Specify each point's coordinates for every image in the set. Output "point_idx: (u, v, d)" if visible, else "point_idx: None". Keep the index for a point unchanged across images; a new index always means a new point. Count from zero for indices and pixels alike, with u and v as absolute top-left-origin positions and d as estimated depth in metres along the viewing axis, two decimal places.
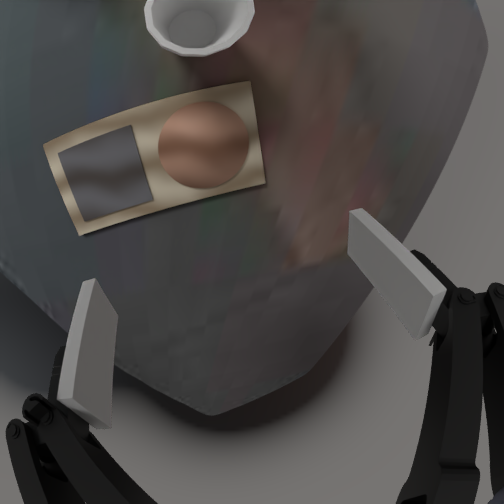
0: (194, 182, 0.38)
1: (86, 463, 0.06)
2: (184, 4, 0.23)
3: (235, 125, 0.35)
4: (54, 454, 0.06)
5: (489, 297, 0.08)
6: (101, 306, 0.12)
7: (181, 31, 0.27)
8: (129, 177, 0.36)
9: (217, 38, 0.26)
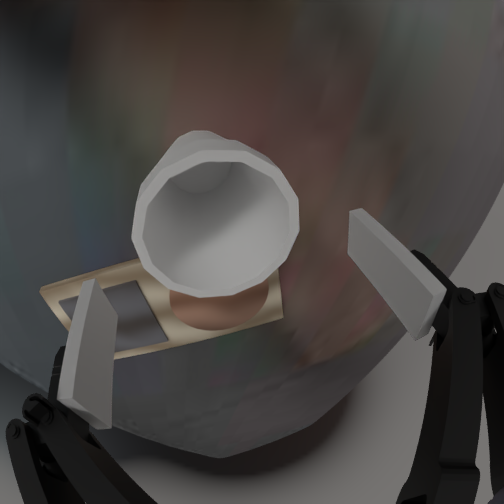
0: (210, 326, 0.37)
1: (86, 463, 0.06)
2: None
3: None
4: (54, 454, 0.06)
5: (489, 297, 0.08)
6: (101, 306, 0.12)
7: None
8: (142, 325, 0.34)
9: (235, 197, 0.24)
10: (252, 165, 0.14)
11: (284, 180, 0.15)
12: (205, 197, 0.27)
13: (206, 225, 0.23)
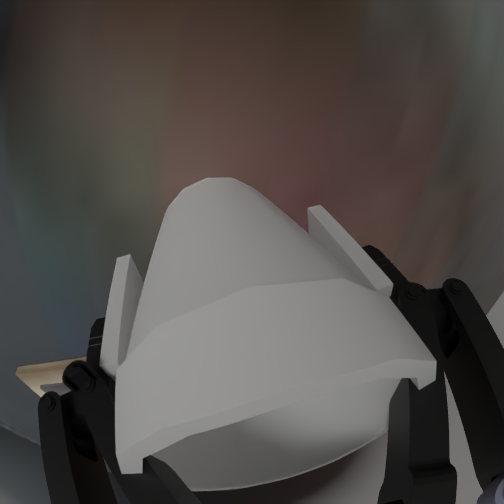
0: None
1: None
2: None
3: None
4: (89, 424, 0.07)
5: (445, 295, 0.09)
6: (136, 281, 0.14)
7: None
8: None
9: None
10: (395, 375, 0.05)
11: (432, 372, 0.06)
12: None
13: None
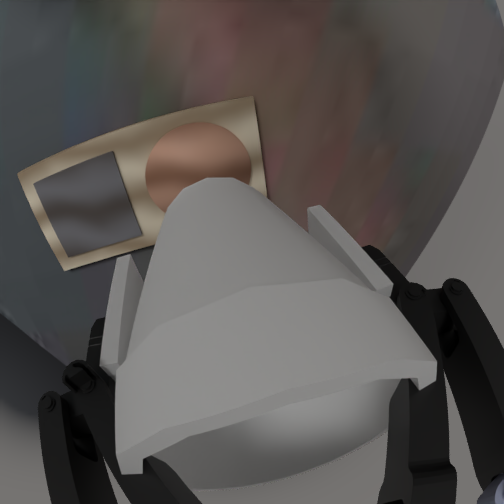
0: None
1: None
2: None
3: (235, 150, 0.31)
4: (89, 424, 0.07)
5: (445, 295, 0.09)
6: (136, 281, 0.14)
7: None
8: (114, 211, 0.31)
9: None
10: (396, 376, 0.05)
11: (433, 372, 0.06)
12: None
13: None
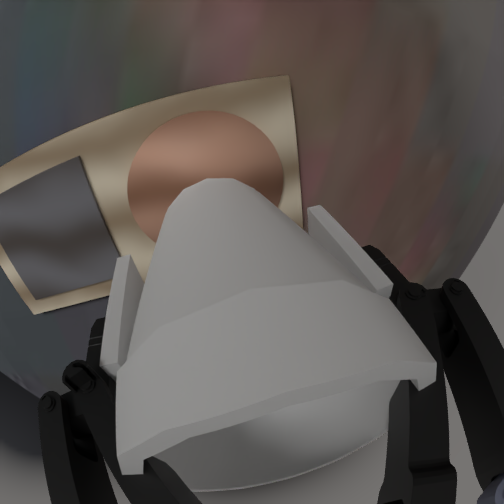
0: None
1: None
2: None
3: (262, 154, 0.21)
4: (89, 424, 0.07)
5: (445, 295, 0.09)
6: (136, 281, 0.14)
7: None
8: (87, 243, 0.21)
9: None
10: (395, 377, 0.05)
11: (432, 373, 0.06)
12: None
13: None
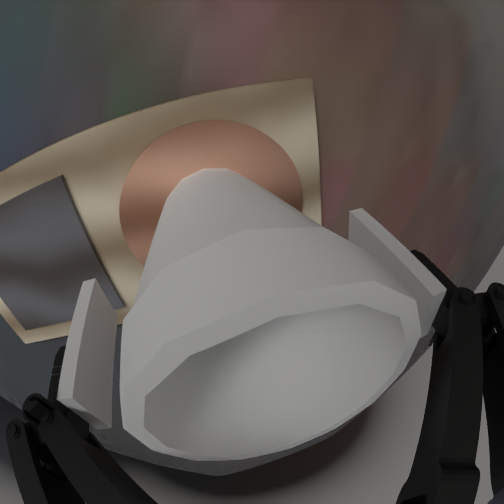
0: None
1: (86, 463, 0.06)
2: None
3: (279, 172, 0.18)
4: (54, 454, 0.06)
5: (489, 297, 0.08)
6: (101, 306, 0.12)
7: None
8: (77, 273, 0.18)
9: None
10: (376, 305, 0.06)
11: (415, 315, 0.07)
12: None
13: None
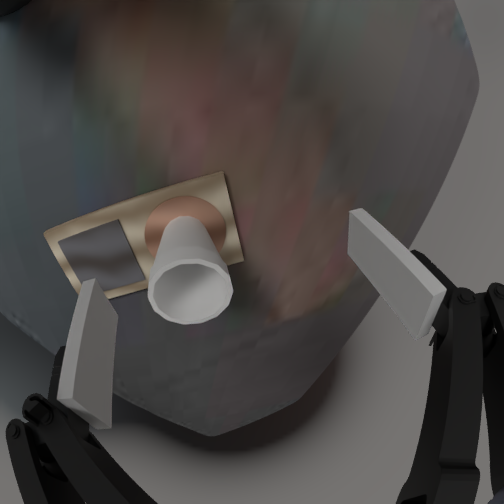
0: None
1: (86, 463, 0.06)
2: None
3: (212, 216, 0.41)
4: (54, 454, 0.06)
5: (489, 297, 0.08)
6: (101, 306, 0.12)
7: None
8: (123, 262, 0.42)
9: None
10: (203, 264, 0.29)
11: (220, 269, 0.30)
12: None
13: (189, 280, 0.39)
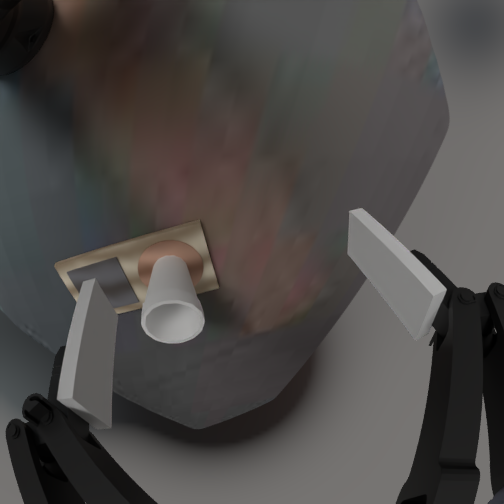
0: None
1: (86, 463, 0.06)
2: None
3: (191, 255, 0.50)
4: (54, 454, 0.06)
5: (489, 297, 0.08)
6: (101, 306, 0.12)
7: None
8: (121, 289, 0.51)
9: None
10: (181, 303, 0.39)
11: (194, 307, 0.40)
12: None
13: (173, 307, 0.48)
